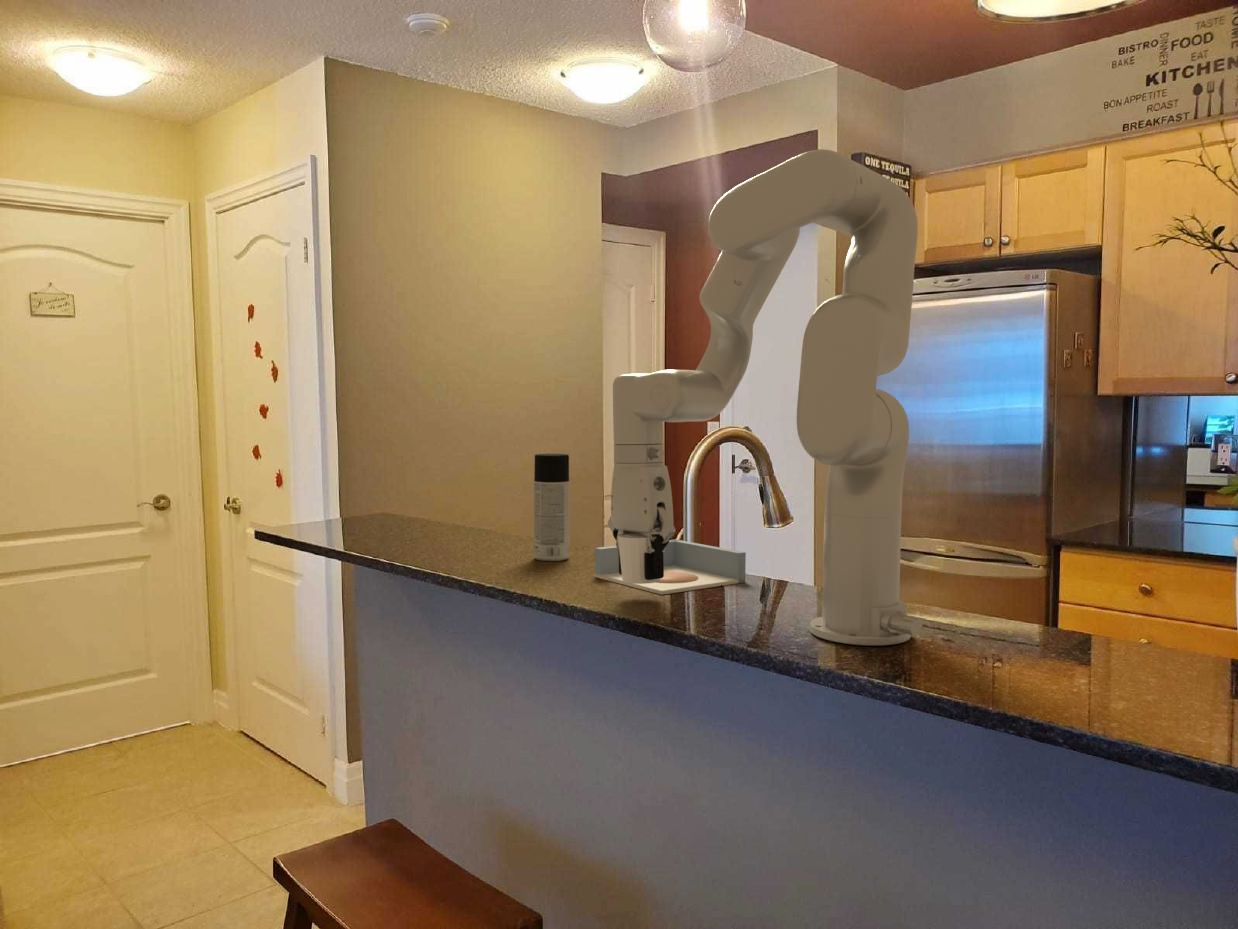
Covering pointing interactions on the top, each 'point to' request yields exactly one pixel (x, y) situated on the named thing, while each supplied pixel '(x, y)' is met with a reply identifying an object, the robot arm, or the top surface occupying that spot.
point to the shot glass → (633, 558)
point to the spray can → (551, 507)
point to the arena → (680, 567)
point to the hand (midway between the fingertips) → (641, 575)
